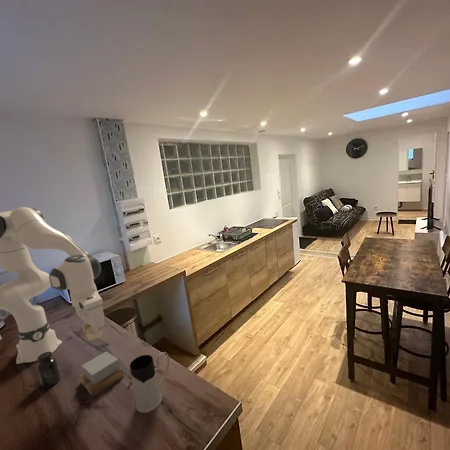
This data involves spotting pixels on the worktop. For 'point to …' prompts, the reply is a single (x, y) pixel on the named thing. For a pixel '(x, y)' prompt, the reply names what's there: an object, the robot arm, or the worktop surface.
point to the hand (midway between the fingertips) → (92, 331)
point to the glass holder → (146, 382)
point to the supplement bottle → (48, 369)
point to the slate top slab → (100, 367)
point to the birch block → (88, 332)
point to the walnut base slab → (101, 382)
